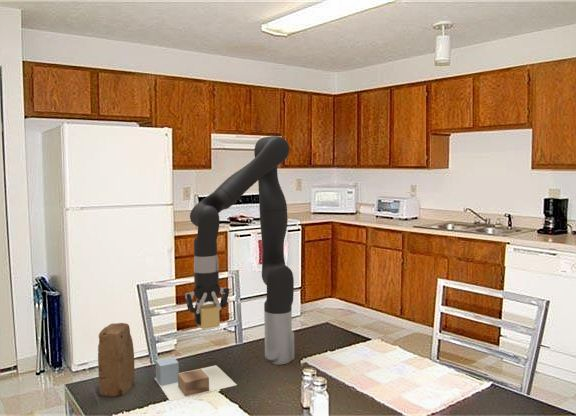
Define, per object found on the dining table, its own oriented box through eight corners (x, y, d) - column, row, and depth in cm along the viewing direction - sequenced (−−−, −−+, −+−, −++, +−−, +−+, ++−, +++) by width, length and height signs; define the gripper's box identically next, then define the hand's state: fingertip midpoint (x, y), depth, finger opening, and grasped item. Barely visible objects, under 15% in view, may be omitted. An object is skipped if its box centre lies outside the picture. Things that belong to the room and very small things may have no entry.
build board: (216, 368, 161) (216, 365, 161) (237, 388, 147) (237, 384, 146) (154, 382, 152) (154, 378, 152) (170, 405, 137) (170, 400, 137)
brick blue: (173, 375, 154) (173, 356, 153) (179, 381, 149) (178, 362, 148) (156, 379, 151) (155, 359, 151) (160, 385, 146) (160, 366, 146)
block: (121, 401, 139) (119, 332, 138) (96, 400, 140) (93, 331, 139) (138, 384, 150) (136, 320, 148) (115, 383, 151) (112, 319, 149)
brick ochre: (213, 321, 158) (212, 303, 158) (219, 326, 153) (219, 307, 153) (196, 324, 156) (196, 305, 155) (202, 329, 151) (202, 310, 150)
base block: (201, 381, 149) (200, 368, 149) (209, 390, 143) (208, 377, 142) (178, 386, 146) (177, 373, 145) (185, 396, 139) (185, 382, 139)
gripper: (223, 264, 160) (225, 316, 161) (179, 270, 153) (181, 323, 154) (232, 268, 153) (234, 322, 155) (187, 274, 146) (189, 330, 148)
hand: (208, 322), depth 154 cm, fingers closed on brick ochre, 5 cm apart
